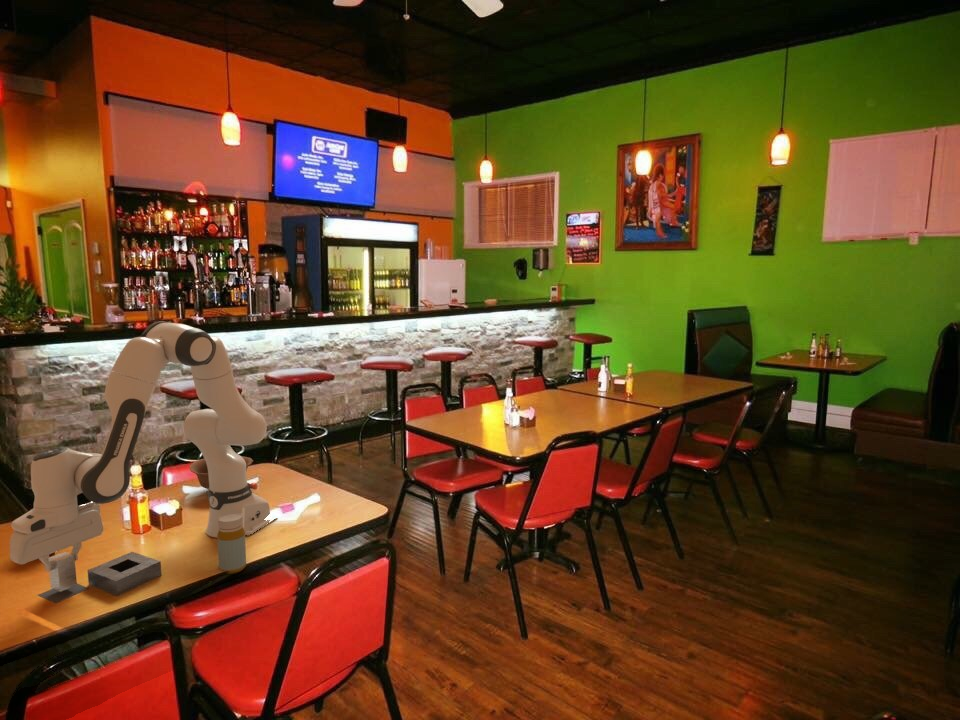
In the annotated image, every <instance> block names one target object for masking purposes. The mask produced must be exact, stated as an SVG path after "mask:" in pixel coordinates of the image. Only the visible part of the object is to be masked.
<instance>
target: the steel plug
mask: <svg viewBox="0 0 960 720" xmlns="http://www.w3.org/2000/svg"><path fill="white" fill-rule="evenodd" d="M47 560H48V561H49V562H50V561H51V562H54V563H55V569H53V570H51V571H48V572H49V581H50V587H51V589H55V590H57V591H60V592H61V591H63V590H66V589H68V588H70V587H72V586H75V585H77V584H78V580H77V571H76V561H75V558H74V555H73V554H71V552H67V551H62V552H59V553H58V554H55V555H51V556H49V559H47Z"/></svg>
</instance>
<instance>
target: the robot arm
mask: <svg viewBox="0 0 960 720" xmlns="http://www.w3.org/2000/svg"><path fill="white" fill-rule="evenodd" d="M169 363H172V364H173V363H174V364H181V365H184V366H186V367H187V366H188V367H190V372H191V375H192V376H191V377H192V379H193V384H194V388H195V391H196V395H197V397H198V400H199V401H200V402H201V403H202V404H203V405H205V406H207V407H209V408H204V409H198V410H192V411H191V412H189V414H188V415H187V416H186V418H184V419H185V420H184V422H183V432H184V435H185V437H186V439H187V440H189V441H190V442H192V443H193V444H194V445H195V446H196V447H197V448H198V449H199V452H201V454H202V457H203V459H204V458H205V461H206V464H207V468H208V476H209V489H207V495H208V497H207V498H208V503H209V511H208V512H209V513H208V514H209V515H208V520H207V527H206V531H205V533H206V535H207V536H209V537H212V538H217V535H218V532H219V526H218V518H219V517H220V516H222V515H224V514H228V513H240V514H242V517H243V528H244V530H245V535H247V536H251V535H250V534H252V535H254V534H255V533H257V532H258V531H260V530H261V529H263V528H264V527H263V526H265V525H266V524H267V523H269V521H270V520H267V521H266V520H264V519H265V518H266V517H267V516H268V515H269V514H270V511H271V509H270V504H269V502H268V501H267V500H266V499H265V498H263V497H261V496H260V495H257V494H256V493H253V492H252V490H254V491H255V490H258V488H259V484H258V483H257V482H256V483H255V482H251V483H249V482H248V479H247V478H248V477H247V472H246V462H245V460H244V459H243V458H242V457H241V455H240V454H239V453H237V452H235V450H234V449H233V447H231V446H239V447H240V446H243V447H244V446H250V445H255V444H256V445H257V444H259V443H261V441H263V439H264V438H265V436H266V434H267V429H268V428H267V427H268V425H267V421H266V419H265V417H264V415H263V414H261V413H260V412H258V411H257V410H255V409H254V408H252V407H251V406H250V405H249V404H248V403H247V401H245V399H244V398H243V396H242V395H241V393H240V391H239V389H238V386H237V383H236V381H235V380H236V379H235V376H234V372H233V367H232V364H231V360H230V356H229V353H228V351H227V349H226V347H225V344H224V343H223V341H222V340H221V338H219V337H217V336H215V335H211V334H208V333H207V332H206V331H205V330H202V329H200V328H198V327H193V326H191V325H187V324H184V323H176V322H175V323H174V322H170V321H163V320H162V321H161V320H160V321H156V322H153V323H151V324H149V325H148V326H147V327H146V328H145V329H144V331H142V334H141V335H140V336H137V337H133V338H131V339H130V340H128V341H127V342H126V344H125V345H124V347H123V348H122V350H121V351H120V353H119V354H118V357H117V358H116V360H115V362H114V364H113V367H112V369H111V370H110V373H109V375H108V378H107V382H106V385H105V390H104V399H105V402H106V403H107V405H108V409H109V411H110V415H111V427H110V430H109V433H108V436H107V439H106V442H105V445H104V448H103V451H102V453H97V452H92V453H91V452H82V451H79V450H74V449H71V448H69V447H68V446H56V447H55V446H54V447H50V448H48V449H45V450H42V451H41V452H39V453H37V454H36V455H35V456H34V457H33V459H32V461H31V463H30V464H31V466H30V480H31V482H30V483H31V490H32V492H33V494H34V501H33V508H31V509H30V510H29V511H28V512H26V513H24V514H22V515H21V516H19V517H18V518H15V519H14V520H13V521H11V529H12V530H13V532H12V534H11V536H10V538H9V557H10V560H11V561H12V562H14V563H16V564H18V565H25V564H28V563H29V562H32V561H35V560H39V561H41V563H42V564H44V570H45V571H46V572H49V571H51V570H53V569H55V563H54V562H51V561H50V562H49V561H48V559H49V557H50V556H49V554H52V553H54V552H55V553H57V552H59V551H62V550H65V549H67V548H70V547H72V549H71V552H70V554H73V555H74V558H75V562H76V561H78V560H79V555H78V554H79V552H80V550H81V548H82V546H83V545H82V543H83V542H86V541H88V540H92V539H95V538H96V537H99V536H101V535H102V534H103V532H104V524H103V520H102V516H101V505H102V504H108V503H109V504H111V503H113V502H115V501H117V500H118V499H120V498H121V497H122V496H123V495H124V494H125V493H126V491H127V490H128V489H129V486H130V482H131V481H130V480H131V478H130V477H131V476H130V464H131V460H132V456H133V454H134V450H135V447H136V444H137V441H138V438H139V436H140V432H141V429H142V425H143V421H144V418H145V415H146V411H147V408H148V406H149V403H150V401H151V398H152V396H153V393H154V391H155V389H156V386H157V383H158V381H159V378H160V375H161V373H162V370H163V369H164V367H165V366H166V365H168V364H169ZM80 494H83V495H84V497H85V499H86V500H87V501H89V502H87V503H85V504H80V505H78V495H80ZM269 524H270V523H269ZM266 526H267V525H266ZM266 526H265V527H266ZM262 527H263V528H262ZM260 528H261V529H260ZM259 529H260V530H259ZM257 530H258V531H257ZM256 531H257V532H256ZM254 532H255V533H254ZM253 533H254V534H253Z"/></svg>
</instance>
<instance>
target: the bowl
mask: <svg viewBox="0 0 960 720" xmlns="http://www.w3.org/2000/svg"><path fill="white" fill-rule="evenodd" d="M240 456H241V455H240ZM241 457H242V458H243V459H244V460H245V462H246V473H247V472H248V467H249V466H251V465H252V464H253V462H254V460H253V459H252V458H251V457H249V456H248V457H247V456H241ZM188 468H189V469H190V472H192V473H193V474H195V475H196V477H197V479H198V482H199V485H200V486H201V487H202V488H204V489H205V490H206V489H207V490H208V489H209V476H208V468H207V464H206V461H205V458H204V457H203V458H201V459H198V460H196V461H193V462H192V463H191V464H190V465H189V467H188Z"/></svg>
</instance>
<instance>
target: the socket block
mask: <svg viewBox="0 0 960 720" xmlns="http://www.w3.org/2000/svg"><path fill="white" fill-rule="evenodd" d="M161 576H162V563H161V560H158V559H154V558H153V557H152V558H151V557H150V556H146V555H143V554H140V553H138V552H134V551H131V552H128V553H126V554H123V555H121V556H118V557H116V558H114V559H112V560H108V561H106V562H103V563H101V564H99V565H97V566H94V567H91V568H90V569H87V581H88V582H87V583H88V586H90V587H93V588H96V589H97V590H101V591H103V592H105V593H108V594H111V595H113V596H115V597H120V596H122V595H123V594H125V593H127V592H130V591H132V590H134V589H136V588H138V587H141V586H143V585H145V584H147V583H149V582H151V581H153V580H156V579H157V578H159V577H161Z"/></svg>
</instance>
